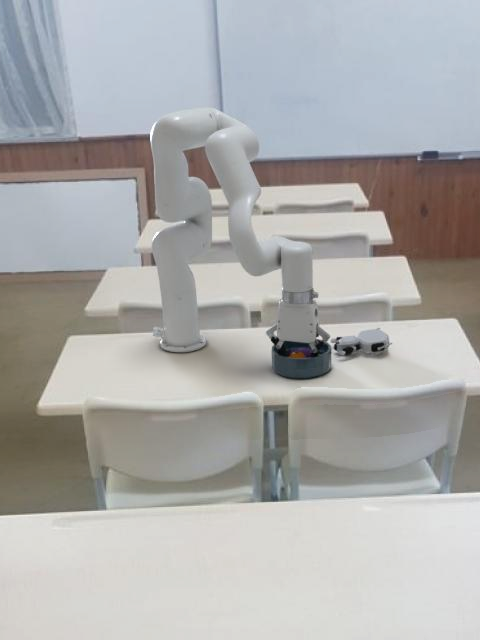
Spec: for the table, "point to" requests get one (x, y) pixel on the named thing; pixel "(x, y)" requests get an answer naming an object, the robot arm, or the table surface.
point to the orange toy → (297, 355)
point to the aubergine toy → (305, 351)
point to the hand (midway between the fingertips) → (298, 363)
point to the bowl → (301, 361)
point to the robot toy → (362, 342)
